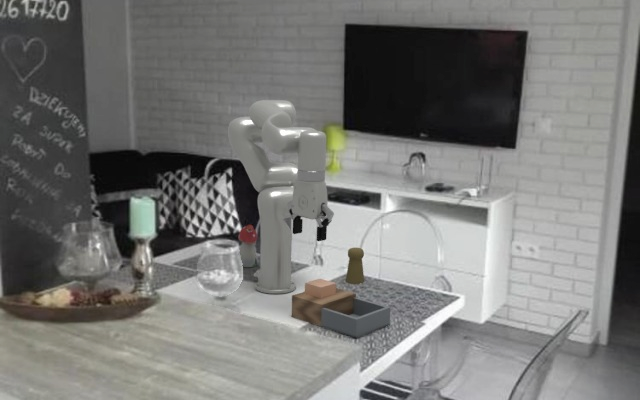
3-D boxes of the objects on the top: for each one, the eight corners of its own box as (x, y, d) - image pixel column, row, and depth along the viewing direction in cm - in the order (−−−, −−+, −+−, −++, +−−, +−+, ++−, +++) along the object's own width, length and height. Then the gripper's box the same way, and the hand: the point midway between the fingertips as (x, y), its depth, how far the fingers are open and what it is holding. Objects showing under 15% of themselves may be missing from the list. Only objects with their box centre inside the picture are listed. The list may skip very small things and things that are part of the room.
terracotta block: (304, 293, 197) (305, 282, 197) (319, 288, 202) (319, 278, 201) (320, 298, 193) (321, 287, 193) (335, 293, 198) (335, 283, 197)
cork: (362, 284, 227) (364, 251, 226) (344, 283, 229) (345, 249, 227) (365, 279, 233) (366, 246, 231) (347, 278, 234) (348, 245, 233)
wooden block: (291, 316, 196) (292, 295, 195) (325, 305, 206) (326, 285, 205) (321, 326, 189) (321, 304, 188) (355, 314, 199) (355, 293, 198)
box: (321, 326, 189) (321, 308, 188) (355, 314, 199) (355, 297, 198) (356, 338, 181) (356, 319, 180) (389, 325, 191) (390, 307, 190)
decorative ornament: (255, 269, 243) (255, 225, 240) (236, 268, 243) (236, 225, 240) (258, 262, 252) (259, 220, 249) (240, 261, 252) (240, 219, 250)
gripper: (280, 172, 199) (278, 232, 203) (323, 182, 187) (321, 245, 191) (299, 170, 204) (298, 228, 208) (343, 179, 192) (340, 241, 196)
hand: (309, 236), depth 199 cm, fingers open, 9 cm apart
